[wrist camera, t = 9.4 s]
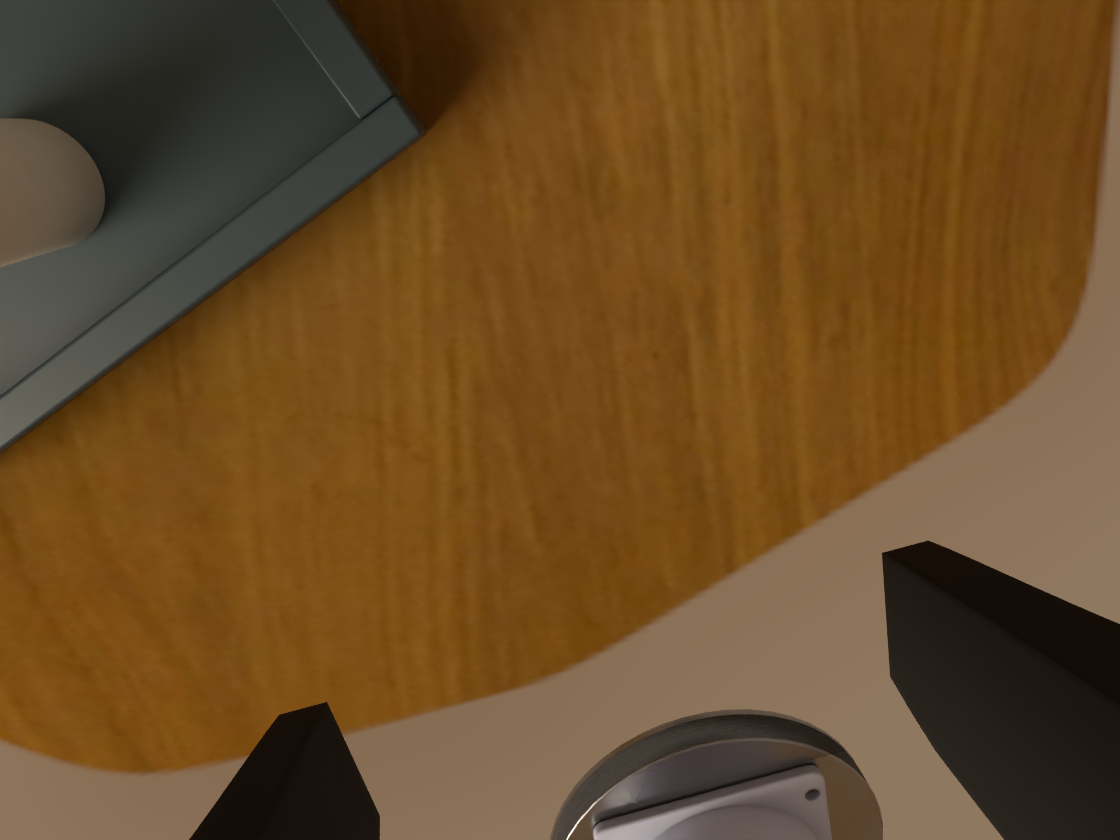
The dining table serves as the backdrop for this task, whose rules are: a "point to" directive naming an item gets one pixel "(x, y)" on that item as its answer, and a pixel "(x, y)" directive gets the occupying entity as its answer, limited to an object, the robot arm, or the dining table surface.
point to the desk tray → (176, 164)
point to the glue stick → (44, 190)
